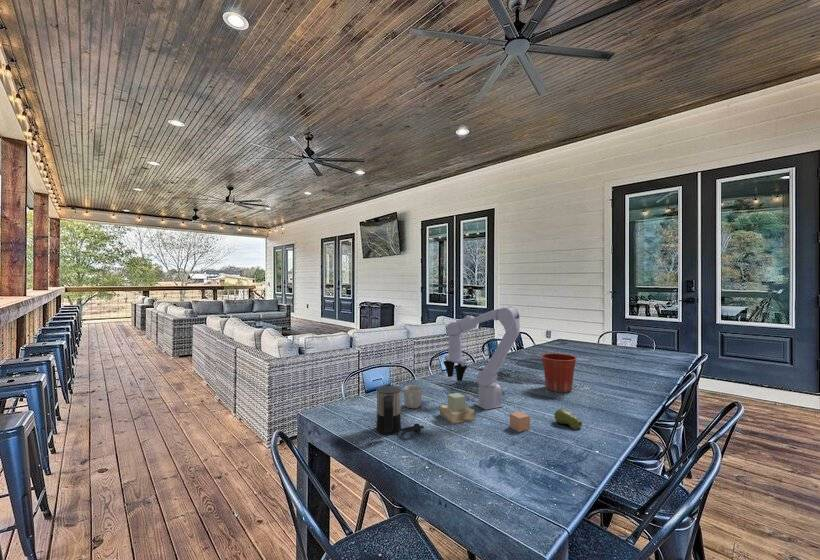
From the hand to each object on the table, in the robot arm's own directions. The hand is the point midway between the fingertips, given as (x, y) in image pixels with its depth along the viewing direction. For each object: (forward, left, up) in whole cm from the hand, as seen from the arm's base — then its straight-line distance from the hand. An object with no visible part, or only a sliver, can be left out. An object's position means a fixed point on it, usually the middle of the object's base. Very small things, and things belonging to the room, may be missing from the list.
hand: (454, 378), depth 168 cm
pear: (-22, +43, -10) cm, 49 cm away
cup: (+22, +1, -10) cm, 24 cm away
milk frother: (+37, +20, -10) cm, 43 cm away
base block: (+11, +18, -10) cm, 23 cm away
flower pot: (-55, +9, -10) cm, 57 cm away
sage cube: (+11, +18, -6) cm, 22 cm away
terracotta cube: (-4, +37, -10) cm, 38 cm away
